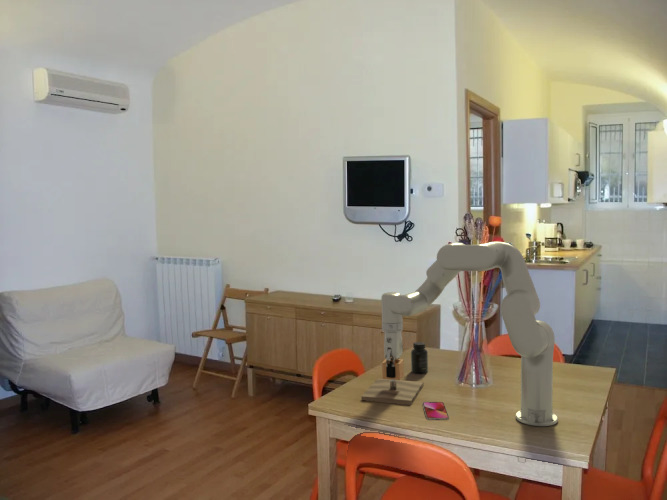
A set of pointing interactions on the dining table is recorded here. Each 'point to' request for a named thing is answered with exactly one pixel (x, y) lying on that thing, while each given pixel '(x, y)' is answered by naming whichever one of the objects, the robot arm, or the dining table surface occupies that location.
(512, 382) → the dining table surface
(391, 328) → the robot arm
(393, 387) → the post
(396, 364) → the hollow wooden cube
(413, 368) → the supplement bottle
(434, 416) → the smartphone
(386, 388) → the board
